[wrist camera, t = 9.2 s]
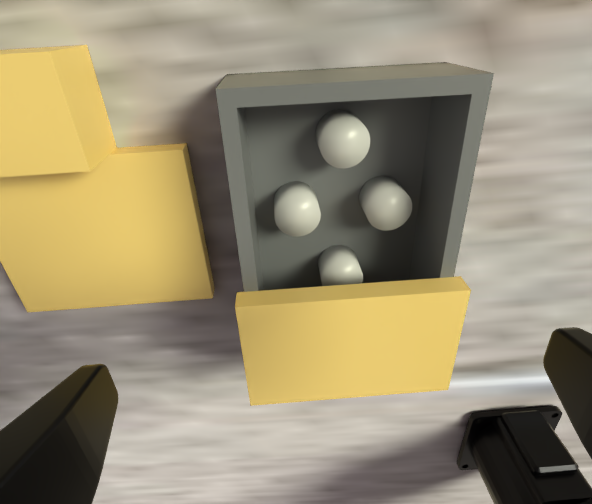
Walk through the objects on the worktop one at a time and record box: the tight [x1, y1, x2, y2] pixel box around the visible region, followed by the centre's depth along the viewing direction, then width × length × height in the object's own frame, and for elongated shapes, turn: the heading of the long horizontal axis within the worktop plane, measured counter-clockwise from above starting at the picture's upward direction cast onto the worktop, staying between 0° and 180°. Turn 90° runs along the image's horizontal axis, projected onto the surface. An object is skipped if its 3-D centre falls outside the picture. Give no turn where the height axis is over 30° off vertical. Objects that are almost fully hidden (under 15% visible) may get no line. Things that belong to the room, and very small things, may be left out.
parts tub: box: [215, 62, 494, 405], centre depth 17 cm, size 14×10×5 cm
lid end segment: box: [0, 45, 215, 312], centre depth 17 cm, size 12×10×3 cm
